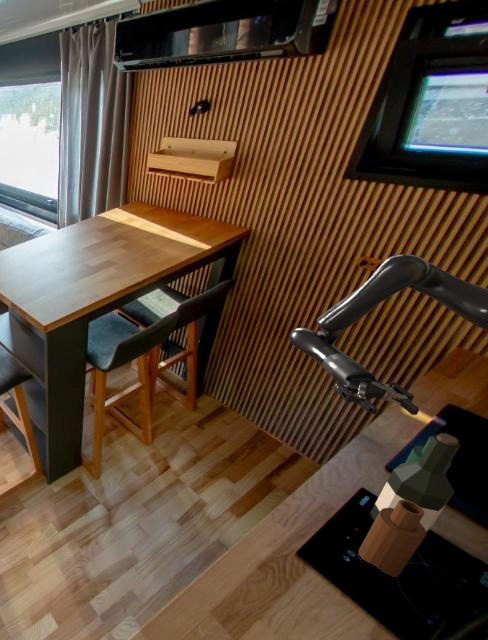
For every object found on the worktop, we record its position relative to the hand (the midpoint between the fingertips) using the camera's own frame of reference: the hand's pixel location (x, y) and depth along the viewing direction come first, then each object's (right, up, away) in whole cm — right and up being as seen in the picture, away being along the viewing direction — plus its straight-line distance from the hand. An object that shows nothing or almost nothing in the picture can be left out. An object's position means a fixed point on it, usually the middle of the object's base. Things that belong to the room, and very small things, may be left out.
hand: (395, 412), depth 94 cm
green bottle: (0, -19, -3) cm, 19 cm away
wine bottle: (-11, -24, -9) cm, 28 cm away
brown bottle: (-22, -29, -14) cm, 39 cm away
